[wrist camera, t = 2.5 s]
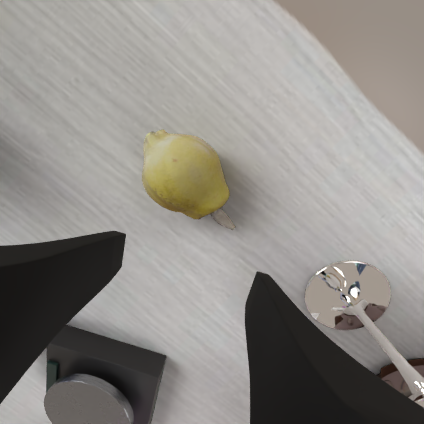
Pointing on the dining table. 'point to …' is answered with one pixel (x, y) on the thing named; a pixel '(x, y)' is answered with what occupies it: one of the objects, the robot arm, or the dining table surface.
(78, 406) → the scale pan
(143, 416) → the scale
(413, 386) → the wineglass
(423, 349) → the dining table surface
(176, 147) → the fruit
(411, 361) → the flowerpot
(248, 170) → the dining table surface
